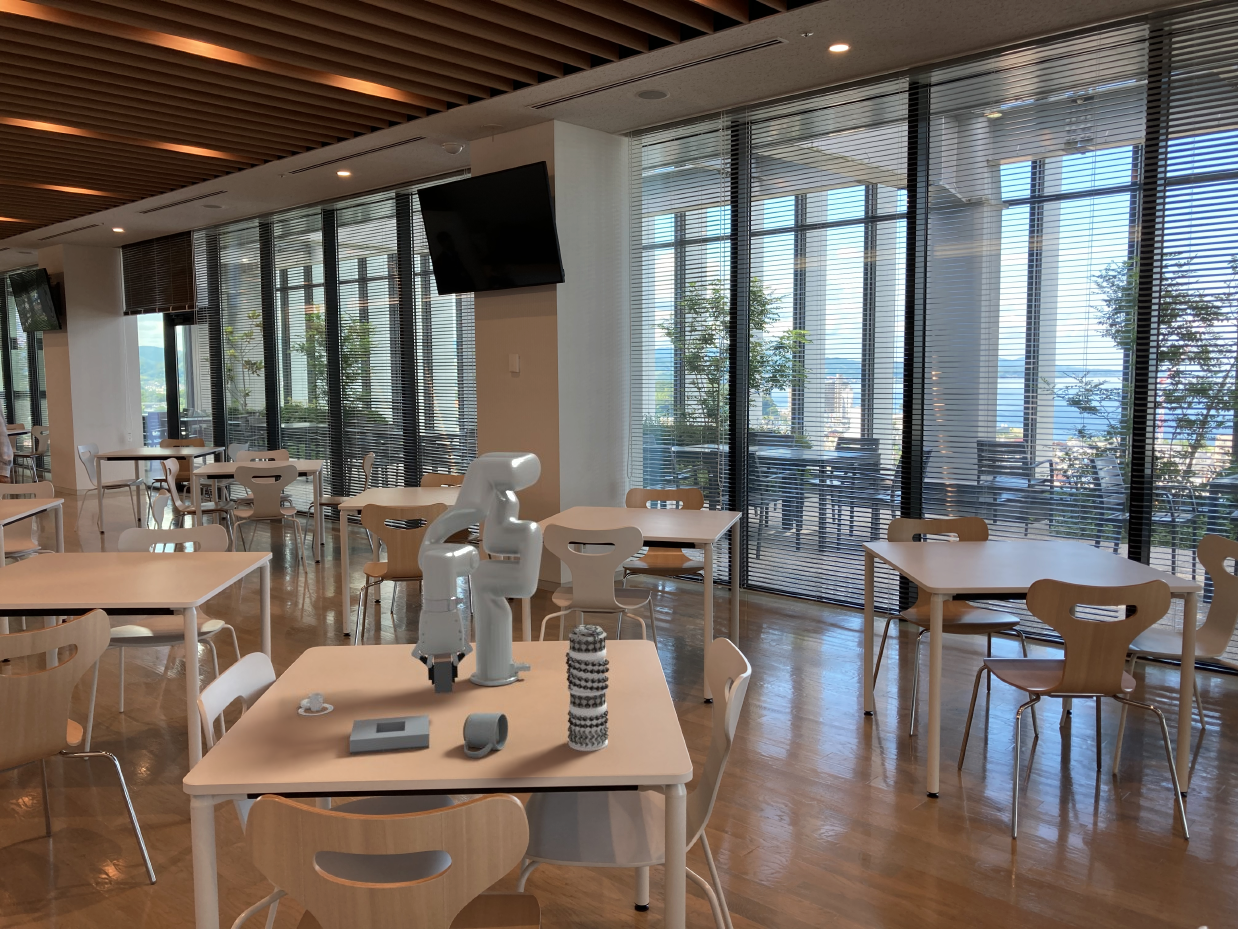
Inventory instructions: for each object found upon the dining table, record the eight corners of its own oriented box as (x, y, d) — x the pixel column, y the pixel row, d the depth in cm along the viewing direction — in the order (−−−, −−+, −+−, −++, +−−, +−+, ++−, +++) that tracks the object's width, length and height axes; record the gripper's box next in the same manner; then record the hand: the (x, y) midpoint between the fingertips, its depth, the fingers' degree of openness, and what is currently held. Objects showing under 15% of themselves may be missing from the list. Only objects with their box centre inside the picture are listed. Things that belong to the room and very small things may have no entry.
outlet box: (428, 728, 200) (428, 714, 200) (429, 747, 189) (428, 733, 188) (354, 733, 197) (354, 720, 197) (349, 754, 185) (349, 740, 185)
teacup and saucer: (297, 707, 216) (296, 690, 216) (332, 703, 219) (331, 686, 219) (298, 719, 208) (298, 701, 208) (334, 714, 211) (334, 697, 210)
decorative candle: (559, 740, 192) (557, 625, 191) (597, 732, 197) (596, 620, 195) (578, 754, 184) (577, 634, 183) (617, 746, 189) (616, 629, 187)
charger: (452, 686, 210) (450, 653, 209) (452, 692, 206) (451, 658, 205) (434, 687, 209) (433, 654, 208) (434, 693, 205) (433, 659, 204)
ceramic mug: (475, 739, 194) (474, 705, 193) (509, 742, 192) (508, 708, 191) (455, 757, 184) (454, 722, 183) (490, 761, 182) (490, 725, 181)
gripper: (476, 598, 211) (478, 673, 213) (403, 602, 207) (406, 679, 209) (478, 605, 203) (480, 684, 205) (402, 610, 200) (405, 690, 202)
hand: (443, 681), depth 207 cm, fingers closed on charger, 4 cm apart
